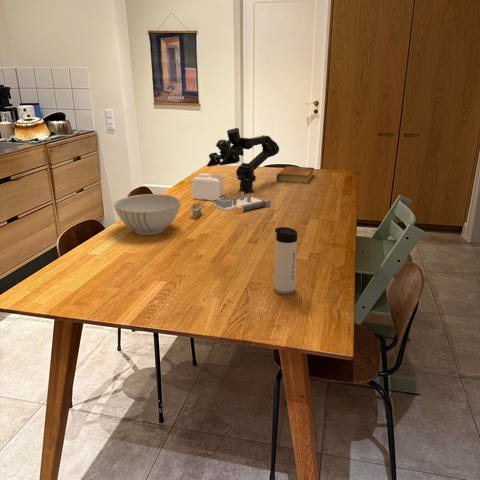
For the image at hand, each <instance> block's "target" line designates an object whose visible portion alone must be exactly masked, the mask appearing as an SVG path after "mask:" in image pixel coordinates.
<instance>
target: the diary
mask: <svg viewBox="0 0 480 480" xmlns="http://www.w3.org/2000/svg"><path fill="white" fill-rule="evenodd" d="M314 171H315V167H310V166H309V167H308V166H307V167H306V166H293V165H286V166H285V167H283V168H282V170H280V171H279V172H278V173H277V174H276V182H277V183H286V184H298V183H301V184H300V185H308V184H309V183H310V182H311V180H312V179H313V178H314Z"/></svg>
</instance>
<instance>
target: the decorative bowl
mask: <svg viewBox="0 0 480 480" xmlns="http://www.w3.org/2000/svg"><path fill="white" fill-rule="evenodd" d="M181 203H182V202H181V199H180V198H178V197H176V196H173V195H170V194H161V193H160V194H159V193H148V194H147V193H144V194H137V195H131V196H126V197H123V198H120V199H117V201H115V202H114V204H113V208H114V210H115V212H116V215H117V216H118V217H119V220H121V222H122V223H123V224H124V225H125V226H126V227H128V228H129V229H131V230H132V231H134V232H135V233H136V234H138V235H141V236H152V235H154V236H155V235H158V234H161V233H163V232H164V231H165V229H166V228H167V227H168V226H170V225H171V224H172V223H173V221H174V220H175V219H176V217H177V215H178V213H179V211H180V208H181Z"/></svg>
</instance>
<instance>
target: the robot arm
mask: <svg viewBox="0 0 480 480" xmlns="http://www.w3.org/2000/svg"><path fill="white" fill-rule="evenodd" d="M226 134H227V138H228V140H227V139H219V140H218V141H217V142H216V144H215V146H216V147H217V148H218V150H219V154H218V152H211V153H209V154H208V157H209V159H210V160H209V161H208V162H207V164H206V167H207V168H210V167H215V166H226V165H228V166H229V165H234V164H237V163H240V161H241V157H240V156H242V157H244V154H245V153H244V152H245V151H244V150H250V149H251V150H252V149H253V147H254V146H259V145H261V148H262V149H261V152H260V153H257V155H256V156H255V157H254V158H253V159H252V160H250V162H248V163H247V162H242V163H241V164H240V165H239V166H238V168H237V169H236V171H235V173H236V177H237V180H238V181H240V183H239V189H238V192H239V193H240V192H244V194H250V193H253V192H255V190H254V189H253V185H254V182H255V181H256V178H257V176H256V175H255V170H257V168H259V167H260V166H261V165H262V164H263V163H264V162H265V161H266V160H267V159H269V158H271V157H274V156H276V155H277V154H279V152H280V147H279V145H278V143H277V142H276V141H274V139H272V138H271V136H270V135H263V134H262V135H259V136H255V137H254V136H253V137H242V136H241V135H240V129H239V128H238V127H235V128H230V129H228V130H226Z"/></svg>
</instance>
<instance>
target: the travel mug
mask: <svg viewBox="0 0 480 480" xmlns="http://www.w3.org/2000/svg"><path fill="white" fill-rule="evenodd" d="M274 232H275V233H276V234H275V235H276V237H275V254H274V255H275V256H274V257H275V259H274V263H275V264H274V289H273V290H274V292H275V293H277V294H279V295H291V294H294V292H295V290H296V277H297V275H296V271H297V253H298V231H297V230H296V229H293V228H290V227H286V226H279V227H275V228H274Z"/></svg>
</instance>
